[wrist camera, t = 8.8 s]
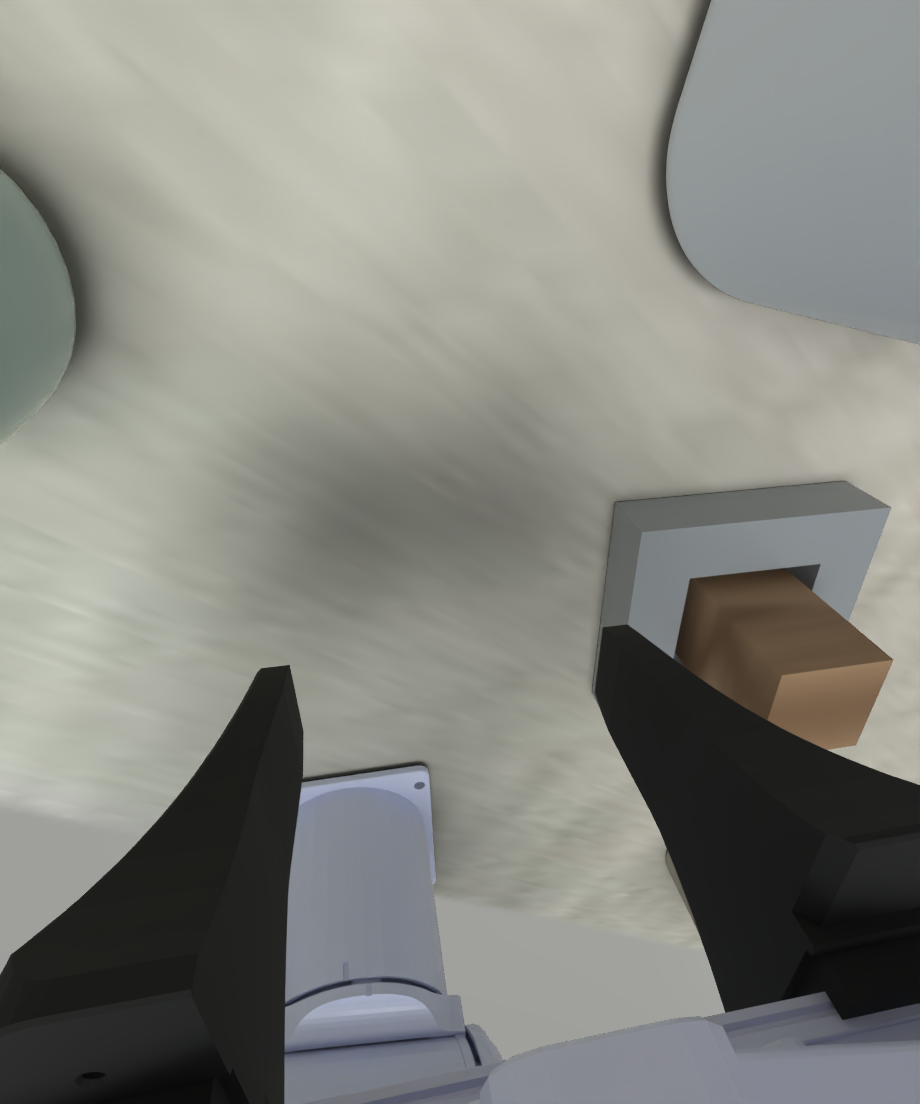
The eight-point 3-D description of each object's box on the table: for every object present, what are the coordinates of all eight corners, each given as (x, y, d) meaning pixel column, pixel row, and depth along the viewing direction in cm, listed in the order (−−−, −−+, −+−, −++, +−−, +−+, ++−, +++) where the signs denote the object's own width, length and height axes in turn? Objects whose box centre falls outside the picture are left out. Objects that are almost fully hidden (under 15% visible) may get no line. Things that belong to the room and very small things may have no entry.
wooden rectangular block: (747, 628, 28) (855, 744, 22) (665, 638, 28) (754, 761, 22) (767, 553, 26) (893, 659, 20) (679, 563, 26) (782, 675, 20)
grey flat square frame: (784, 666, 31) (817, 701, 28) (592, 692, 29) (611, 731, 27) (845, 480, 25) (891, 507, 23) (615, 502, 24) (641, 532, 22)
